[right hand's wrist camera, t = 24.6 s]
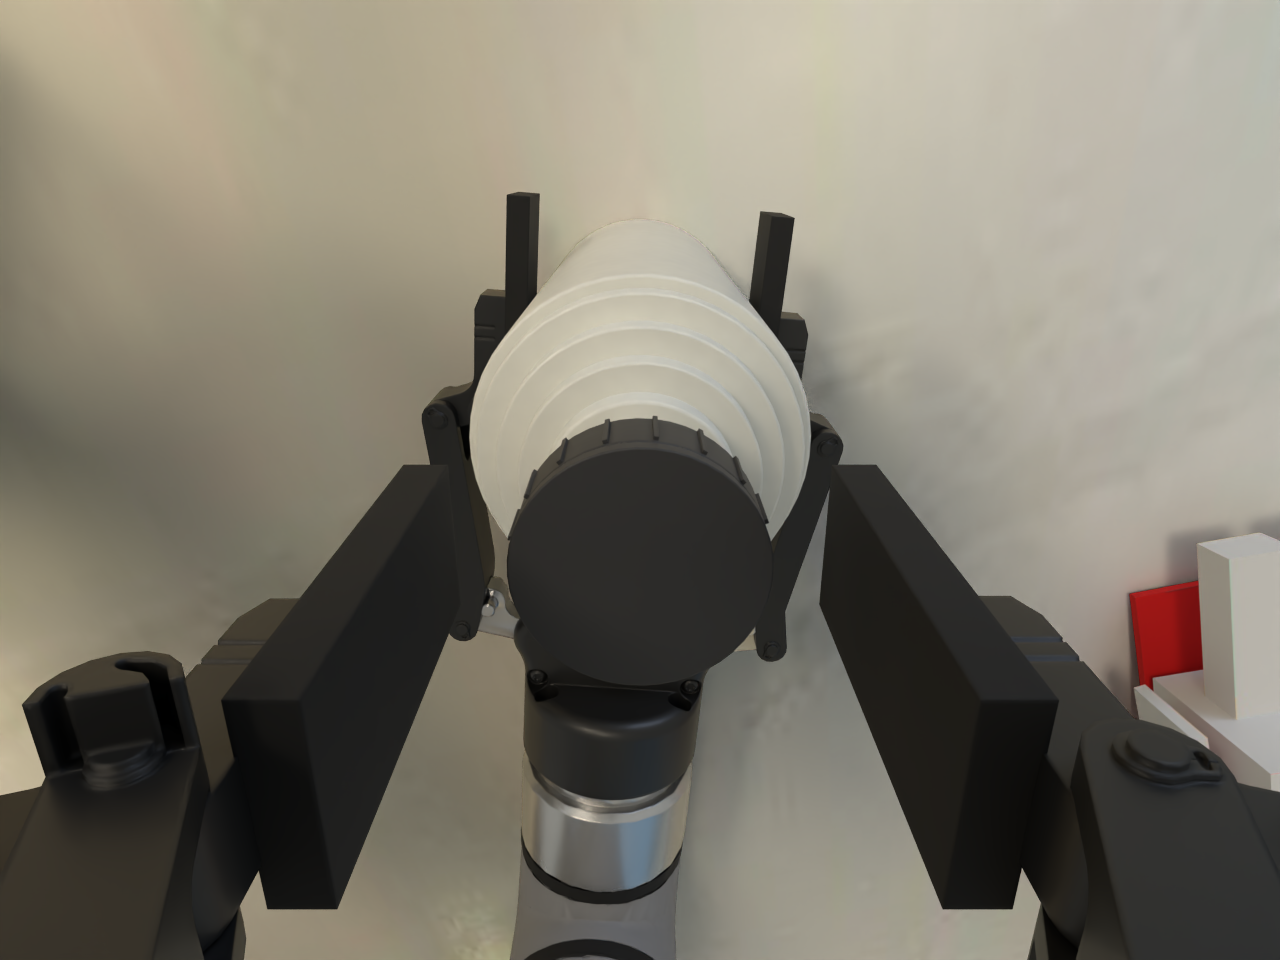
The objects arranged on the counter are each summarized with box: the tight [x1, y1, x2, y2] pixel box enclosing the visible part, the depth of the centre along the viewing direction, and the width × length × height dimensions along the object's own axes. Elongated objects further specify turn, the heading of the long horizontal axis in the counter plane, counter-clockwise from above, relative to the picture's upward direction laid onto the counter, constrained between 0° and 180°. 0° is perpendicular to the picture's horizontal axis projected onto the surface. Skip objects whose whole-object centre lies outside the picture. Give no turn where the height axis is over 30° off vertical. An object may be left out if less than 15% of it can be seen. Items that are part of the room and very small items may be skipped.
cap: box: [507, 416, 774, 685], centre depth 14 cm, size 4×4×2 cm
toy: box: [1130, 532, 1280, 792], centre depth 39 cm, size 12×13×30 cm
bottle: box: [469, 219, 811, 541], centre depth 25 cm, size 8×8×23 cm
